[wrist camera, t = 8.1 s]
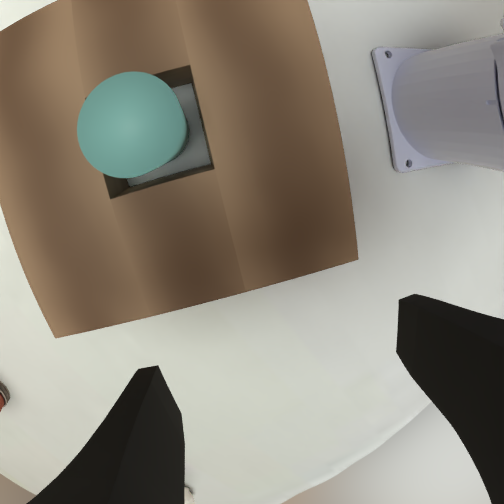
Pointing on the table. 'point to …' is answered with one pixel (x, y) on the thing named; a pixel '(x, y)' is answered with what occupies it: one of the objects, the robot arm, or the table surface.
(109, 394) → the table surface
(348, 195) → the socket block
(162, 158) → the peg
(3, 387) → the lighter
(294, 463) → the table surface
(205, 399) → the table surface
